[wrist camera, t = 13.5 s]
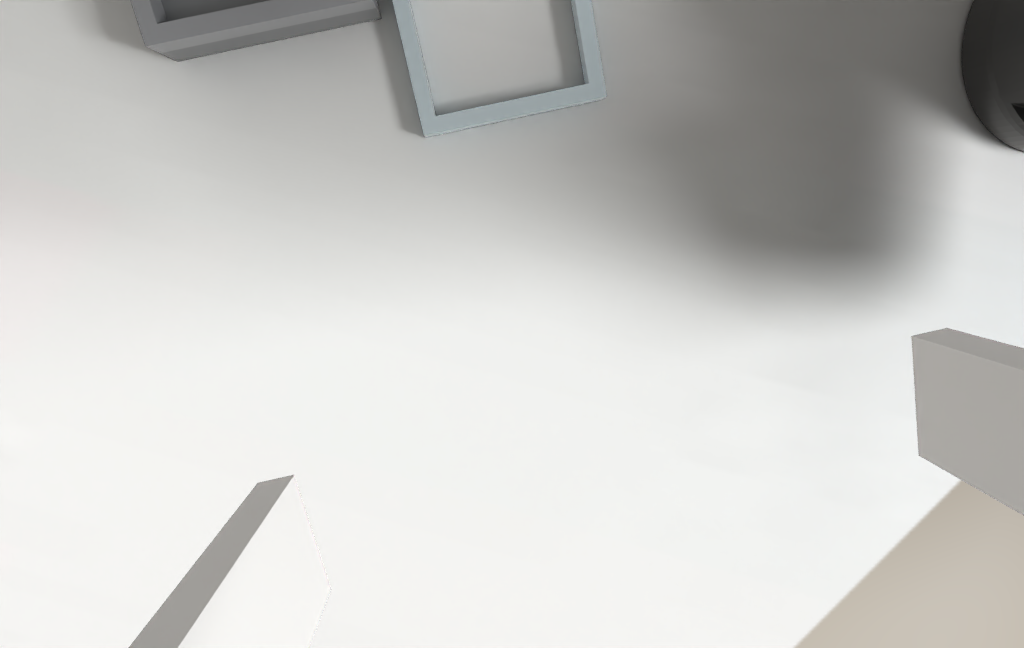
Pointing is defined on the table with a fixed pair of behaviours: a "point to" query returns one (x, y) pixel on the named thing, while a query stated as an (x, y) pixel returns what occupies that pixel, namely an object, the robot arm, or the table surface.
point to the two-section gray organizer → (239, 22)
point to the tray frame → (511, 108)
